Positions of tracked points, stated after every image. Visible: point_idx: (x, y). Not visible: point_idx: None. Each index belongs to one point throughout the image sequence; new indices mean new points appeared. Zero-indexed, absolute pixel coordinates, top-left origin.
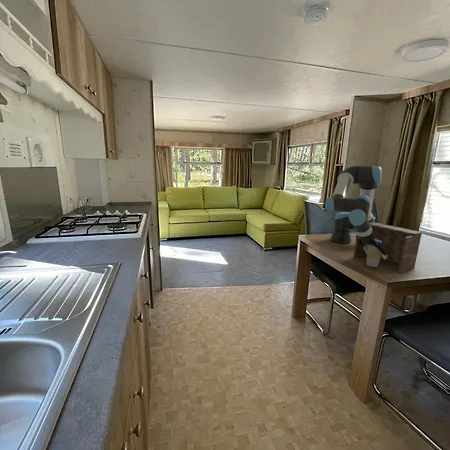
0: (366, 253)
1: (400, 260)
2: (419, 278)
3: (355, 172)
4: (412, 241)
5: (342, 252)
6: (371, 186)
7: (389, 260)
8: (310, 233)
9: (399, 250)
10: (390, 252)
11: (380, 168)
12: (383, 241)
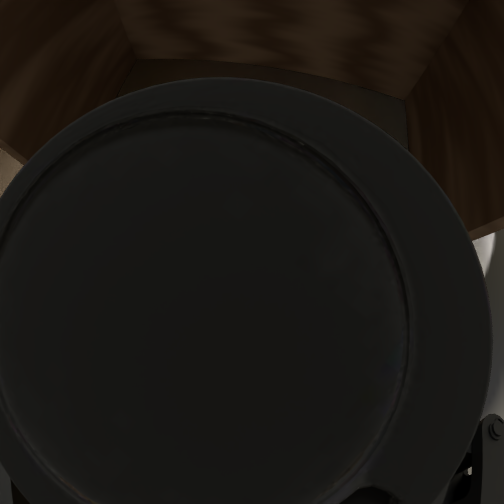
0: (124, 68)
1: (471, 232)
2: (491, 244)
3: None
4: None
5: (8, 163)
6: None
7: (276, 65)
8: None
9: (347, 6)
10: (277, 20)
11: None
12: (456, 240)
